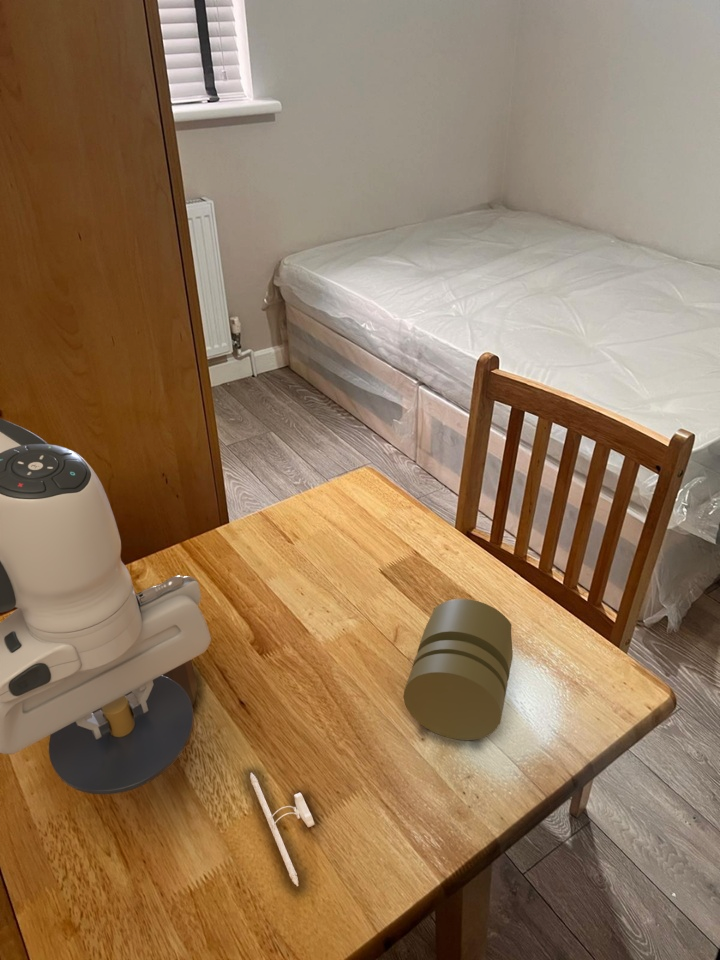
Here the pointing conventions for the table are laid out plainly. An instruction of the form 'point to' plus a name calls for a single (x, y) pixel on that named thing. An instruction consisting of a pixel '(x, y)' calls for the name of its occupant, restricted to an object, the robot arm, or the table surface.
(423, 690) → the piston
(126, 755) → the tin lid
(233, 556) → the table surface
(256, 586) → the table surface
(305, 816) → the picture light
